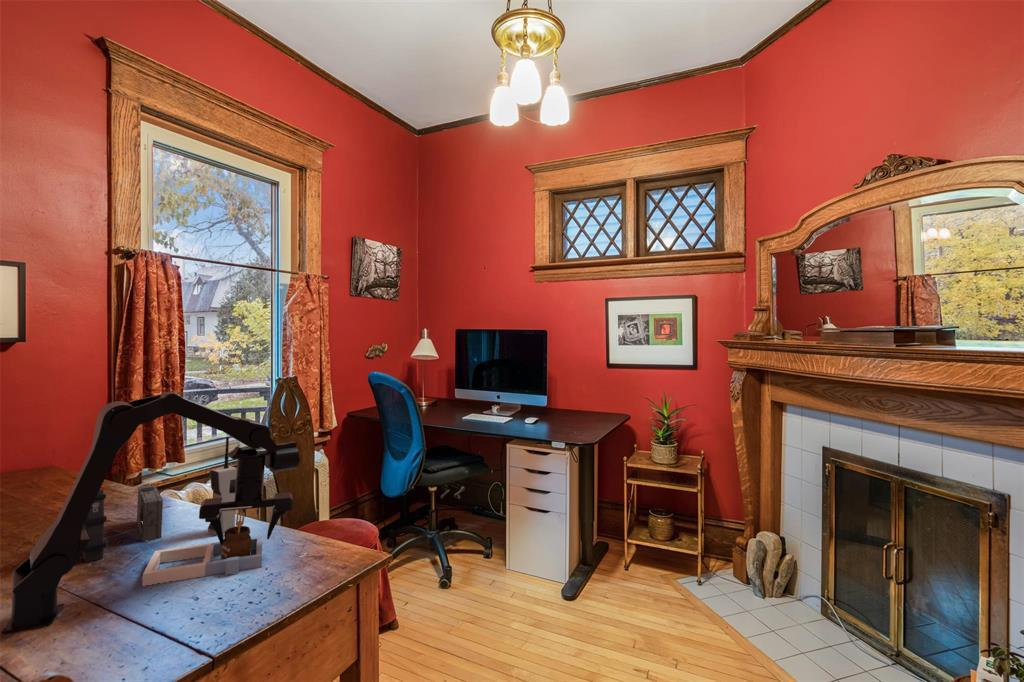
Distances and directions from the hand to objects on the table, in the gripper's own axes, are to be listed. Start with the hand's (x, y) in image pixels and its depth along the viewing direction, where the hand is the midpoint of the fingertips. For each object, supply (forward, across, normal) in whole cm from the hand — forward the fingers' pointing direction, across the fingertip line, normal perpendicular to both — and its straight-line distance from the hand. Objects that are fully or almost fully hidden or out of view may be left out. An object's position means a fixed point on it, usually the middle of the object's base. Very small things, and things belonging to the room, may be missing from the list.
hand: (245, 541), depth 108 cm
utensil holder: (+4, +2, 0) cm, 5 cm away
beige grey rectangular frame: (+4, +7, 0) cm, 8 cm away
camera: (+5, +23, -27) cm, 36 cm away
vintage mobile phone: (+4, +6, -19) cm, 21 cm away
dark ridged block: (+5, +32, -17) cm, 37 cm away
